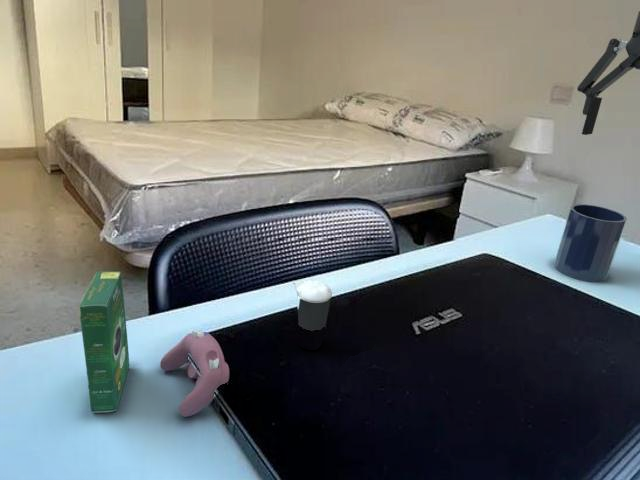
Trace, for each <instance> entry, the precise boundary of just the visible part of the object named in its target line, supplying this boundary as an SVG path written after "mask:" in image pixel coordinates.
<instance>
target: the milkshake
mask: <svg viewBox="0 0 640 480" xmlns="http://www.w3.org/2000/svg"><path fill="white" fill-rule="evenodd" d="M291 281H292V283H293V287H294V288H295V291H296V303H297V305H296V307H297V317H298V318H297V326H298V325H299V326H300V327H302V328H303V329H306V330H310V331H314V330H321V329H322V328H323V327H325V328H326V325H327V320H328V316H329V311H330V306H331V301H332V296H333V291H332V290H331V288H330V286H329V285H328V284H326V283H324V282H322V281H320V280H312V279H308V280H305V281H304V282H302V284H300V285H299V286H298V287H296V285H295V282H294V280H291Z"/></svg>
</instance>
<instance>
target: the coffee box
mask: <svg viewBox="0 0 640 480" xmlns="http://www.w3.org/2000/svg"><path fill="white" fill-rule="evenodd" d="M78 314H79V320H80V328H81V336H82V343H83V353H84V360H85V361H84V362H85V367H86V370H85V371H86V376H87V387H88V395H89V402H90V411H91V413H93V414H99V413H100V414H102V413H113V412H115V411H118V409H119V404H120V402H121V399H122V394H123V390H124V386H125V383H126V380H127V376H128V373H129V369H130V352H129V342H128V330H127V320H126V311H125V298H124V289H123V277H122V271H120V270H118V271H117V270H116V271H115V270H113V271H112V270H109V271H107V270H106V271H103V270H101V271H96V272H95V275H94V276H93V279H92V281H91V282H90V284H89V286H88V288H87V290H86V291H85V293H84V295H83V296H82V299H81V301H80V303H79V305H78Z"/></svg>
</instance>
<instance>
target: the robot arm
mask: <svg viewBox="0 0 640 480" xmlns="http://www.w3.org/2000/svg"><path fill="white" fill-rule="evenodd" d="M624 50H626V53H627V55H628V56H627V57H626V58H625V59H624V60H623V61H622V62H620V63H619V64H618V66H616V67H615V68H614V69H612V70H611V71H610V72H609V73H608V74H607V75H605V76H604V77H603V78H602V79H600V77H601V76H602V75H603V74H604V72H606V70H607V69H608V67H609V66H610V65H611V64H612V62H613V61H614V60H615V59H616V57H617V56H618V55H619V54H622V52H623V51H624ZM634 68H635V70H640V10H639V11H638V12H637V17H636V20H635V25H634V27H633V31H632V35H631V38H630V39H629V40H628V41H627V40H622V39H621V38H611V39H610V40H609V42H608V44H607V47H606V49H605V52H604V53H603V54H602V55H601V56H600V58H599V60H597V62H596V63H595V64H594V66H593V67H592V68H591V69H590V70H589V72H588V73H587V75H586V76H585V77H584V78H583V79H582V81H581V82H580V83H579V84H578V86H577V91H578V92H580V93H582V94H584V95H585V101H584V105H583V108H582V115H583V116H586V117H585V121H584V124H583V128H582V131H581V135H584V136H588V135H592V134H593V133H594V128H595V126H596V122H597V118H598V115H599V111H600V107H601V104H602V100H603V97H599V96H600V94H601V93H603V92H604V91H606V90H607V89H608V88H609V87H610V86H612V85H613V84H614V83H616V82H617V81H618V80H619V79H621V78H622V77H623V76H625V74H627V73H628V72H630V71H631V70H633V69H634ZM599 79H600V80H599ZM598 80H599V81H598ZM597 81H598V82H597ZM596 82H597V83H596Z"/></svg>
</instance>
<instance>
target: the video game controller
mask: <svg viewBox="0 0 640 480" xmlns="http://www.w3.org/2000/svg"><path fill="white" fill-rule="evenodd" d="M188 353H191V355H192V358H193V360H194V362H195V363H196V365H197V366H198V368H199V370H200V375H201V377H200V376H197V373H196V370H195V369H194V367H193V366H192V365H191V363H190V361H188ZM159 363H160V365H159V367H160V369H161V370H162V371H164V372H171V371H174V370H177V369H178V368H180V367H182V366H184V365H186V364H187V363H188V366H187V376H188V378H190V379H196V381H195V386H194V388H193V389H192V390H191V391H190V392H189V393H188V394H187V395H186V396H185V397H184V398H183V399H182V401H181V403H180V404H179V406H178V413H179V415H180V416H182V417H184V418H187V417H191V416H194V415H197V414H198V413H199V412H201V411H202V410H204V409H205V408H207V407H208V406H209V405H210V404H211V403H212V402H213V401H214V400H215V398H214V392H215V390H216V389H217V388H218V387H219V386H220V385H222V384H225V383H227V382H228V383H229V380H230V368H229V367H230V366H229V364H228V363H227V362H226V361H225V357H224V353H223V350H222V347H221V346H220V344H219V342H218V341H217V340H216V339H215V337H214V336H212V335H211V334H210V333H208V332H206V331H199V330H198V331H197V332H196V331H194V330H193V331H192V332H191V333H187V334H186V335H185V336H184V337H183V338H182V339H181V340H180V341H179V342H178V343H177V344H176V345H174V346H173V347H172V348H171V349H169V350H168V351H167V353H165V354H164V355H163V357H162V358H161V360H160V362H159ZM228 383H227V384H228ZM213 399H214V400H213Z"/></svg>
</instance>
